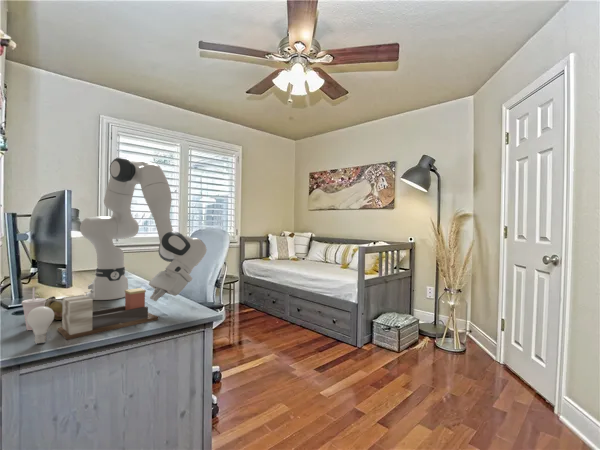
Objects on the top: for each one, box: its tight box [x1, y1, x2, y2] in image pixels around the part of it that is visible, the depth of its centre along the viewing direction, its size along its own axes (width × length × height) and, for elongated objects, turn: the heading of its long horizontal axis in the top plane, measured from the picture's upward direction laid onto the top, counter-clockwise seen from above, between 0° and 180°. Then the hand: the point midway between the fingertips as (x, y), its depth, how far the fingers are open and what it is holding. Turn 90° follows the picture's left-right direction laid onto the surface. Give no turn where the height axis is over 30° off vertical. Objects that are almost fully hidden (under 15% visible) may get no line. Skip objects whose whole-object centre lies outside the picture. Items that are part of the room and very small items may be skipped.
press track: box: [57, 294, 159, 341], centre depth 111 cm, size 12×28×11 cm, turn 138°
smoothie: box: [21, 287, 47, 331], centre depth 106 cm, size 6×6×14 cm
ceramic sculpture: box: [45, 296, 63, 321], centre depth 117 cm, size 11×9×15 cm
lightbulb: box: [27, 306, 55, 345], centre depth 93 cm, size 6×6×11 cm
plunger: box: [124, 287, 147, 310], centre depth 117 cm, size 5×5×10 cm
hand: (152, 299), depth 121 cm, fingers closed
